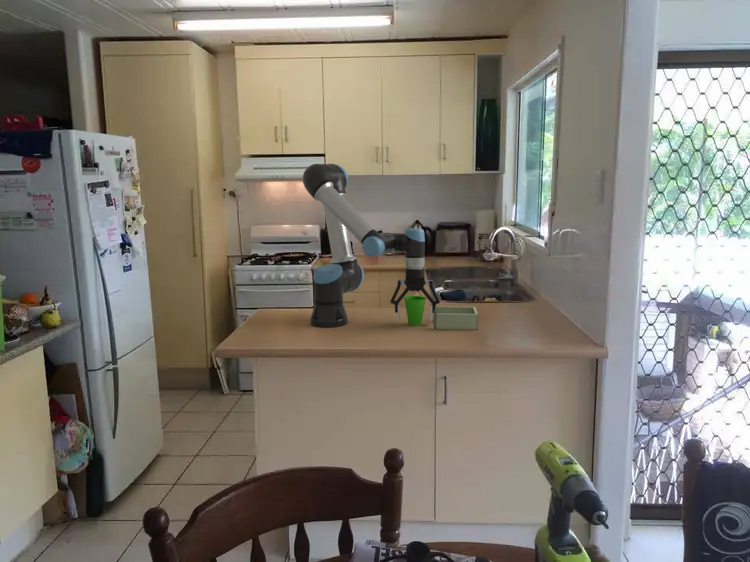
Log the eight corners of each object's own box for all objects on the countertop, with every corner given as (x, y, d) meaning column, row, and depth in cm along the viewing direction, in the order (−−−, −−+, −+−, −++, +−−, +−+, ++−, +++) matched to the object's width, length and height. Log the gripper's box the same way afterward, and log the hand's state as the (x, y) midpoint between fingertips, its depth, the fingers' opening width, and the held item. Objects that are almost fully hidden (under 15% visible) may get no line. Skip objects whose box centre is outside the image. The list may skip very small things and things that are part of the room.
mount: (433, 329, 230) (434, 311, 228) (433, 320, 243) (433, 303, 242) (477, 329, 228) (478, 311, 227) (474, 320, 242) (475, 303, 240)
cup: (424, 327, 232) (424, 300, 230) (402, 326, 233) (402, 299, 232) (427, 322, 240) (427, 295, 238) (405, 321, 242) (405, 295, 240)
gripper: (383, 269, 230) (384, 322, 234) (446, 269, 228) (446, 323, 232) (384, 266, 238) (385, 318, 241) (445, 266, 236) (445, 318, 239)
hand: (415, 320), depth 237 cm, fingers open, 12 cm apart
